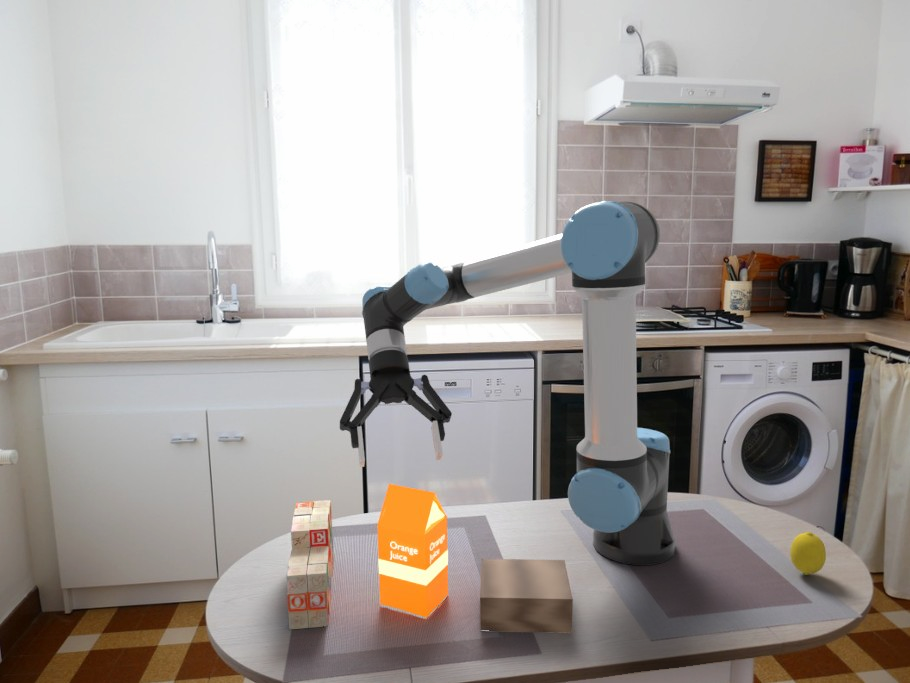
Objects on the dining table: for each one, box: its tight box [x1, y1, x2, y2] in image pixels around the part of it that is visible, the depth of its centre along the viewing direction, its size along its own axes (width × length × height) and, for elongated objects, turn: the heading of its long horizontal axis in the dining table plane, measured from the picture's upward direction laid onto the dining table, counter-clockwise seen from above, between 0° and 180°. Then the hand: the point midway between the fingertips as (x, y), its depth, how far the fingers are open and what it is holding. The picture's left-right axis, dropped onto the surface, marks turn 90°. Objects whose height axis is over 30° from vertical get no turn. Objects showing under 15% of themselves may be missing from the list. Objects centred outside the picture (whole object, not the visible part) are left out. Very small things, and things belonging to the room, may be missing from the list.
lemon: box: [789, 531, 827, 576], centre depth 122 cm, size 6×6×8 cm
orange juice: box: [376, 483, 449, 617], centre depth 114 cm, size 8×9×20 cm
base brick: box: [479, 558, 574, 634], centre depth 113 cm, size 14×12×6 cm
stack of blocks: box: [286, 499, 335, 630], centre depth 118 cm, size 21×6×12 cm, turn 8°
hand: (401, 460), depth 122 cm, fingers open, 13 cm apart
